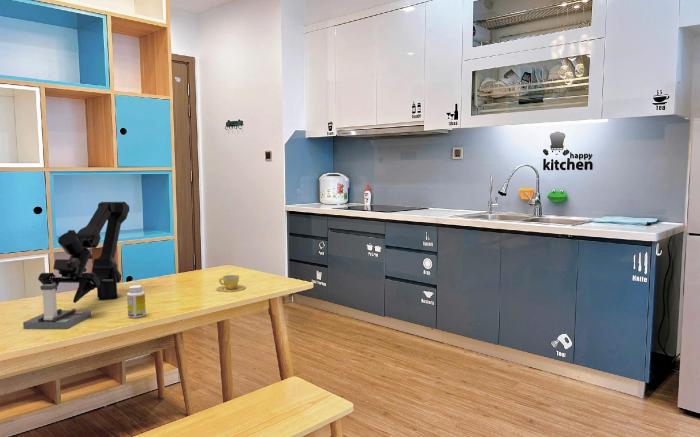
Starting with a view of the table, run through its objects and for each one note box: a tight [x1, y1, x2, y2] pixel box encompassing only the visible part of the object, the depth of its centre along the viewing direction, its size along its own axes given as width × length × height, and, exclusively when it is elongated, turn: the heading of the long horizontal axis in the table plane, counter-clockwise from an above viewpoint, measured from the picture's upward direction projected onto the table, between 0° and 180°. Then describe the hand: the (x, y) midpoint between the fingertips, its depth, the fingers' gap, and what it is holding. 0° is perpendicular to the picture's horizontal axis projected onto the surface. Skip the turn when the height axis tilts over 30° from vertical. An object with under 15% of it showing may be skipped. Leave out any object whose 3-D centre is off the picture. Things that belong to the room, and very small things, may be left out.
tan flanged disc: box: [216, 274, 247, 293], centre depth 212 cm, size 12×12×5 cm
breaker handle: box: [39, 284, 58, 320], centre depth 162 cm, size 3×4×11 cm
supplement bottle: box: [126, 284, 147, 319], centre depth 173 cm, size 6×6×10 cm
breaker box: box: [22, 308, 92, 330], centre depth 167 cm, size 14×14×3 cm
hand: (60, 302), depth 168 cm, fingers open, 9 cm apart
